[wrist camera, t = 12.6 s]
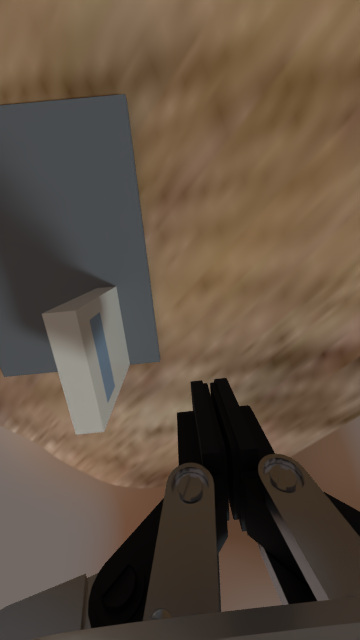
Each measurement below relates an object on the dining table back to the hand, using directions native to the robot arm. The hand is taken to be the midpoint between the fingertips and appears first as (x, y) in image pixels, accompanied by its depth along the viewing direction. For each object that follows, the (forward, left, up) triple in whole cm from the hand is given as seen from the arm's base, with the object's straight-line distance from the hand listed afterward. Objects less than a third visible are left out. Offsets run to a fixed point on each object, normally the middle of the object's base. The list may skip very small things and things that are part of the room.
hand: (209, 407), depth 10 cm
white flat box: (-1, -7, -12) cm, 14 cm away
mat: (-8, -11, -13) cm, 19 cm away
